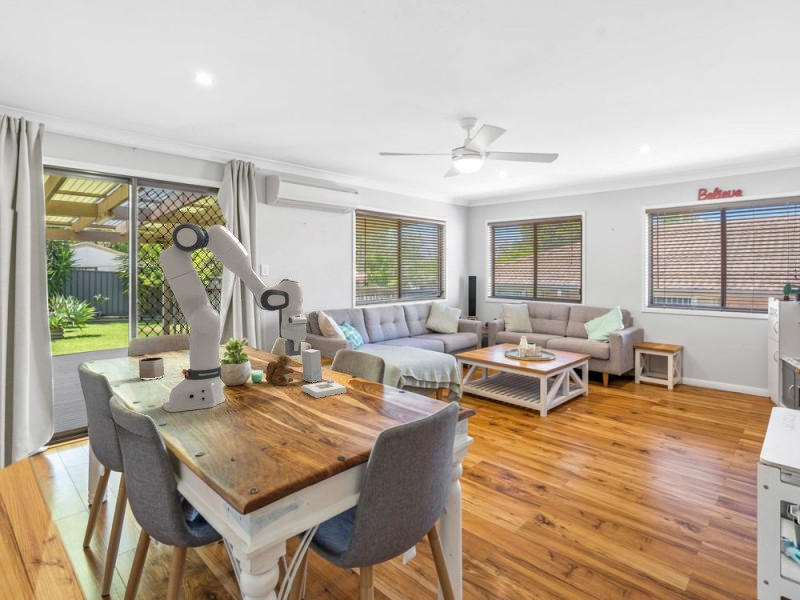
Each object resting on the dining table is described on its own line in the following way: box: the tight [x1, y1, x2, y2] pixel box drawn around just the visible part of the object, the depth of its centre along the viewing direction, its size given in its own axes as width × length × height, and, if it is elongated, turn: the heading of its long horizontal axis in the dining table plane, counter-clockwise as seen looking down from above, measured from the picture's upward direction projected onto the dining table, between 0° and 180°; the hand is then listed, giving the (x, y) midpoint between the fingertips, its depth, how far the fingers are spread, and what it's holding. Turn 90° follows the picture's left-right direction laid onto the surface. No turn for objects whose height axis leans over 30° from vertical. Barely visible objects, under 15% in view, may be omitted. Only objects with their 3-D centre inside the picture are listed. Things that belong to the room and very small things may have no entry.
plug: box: [284, 340, 302, 357], centre depth 191 cm, size 5×5×8 cm
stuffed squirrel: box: [264, 354, 295, 386], centre depth 210 cm, size 10×14×13 cm
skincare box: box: [301, 348, 323, 384], centre depth 213 cm, size 8×6×15 cm
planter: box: [138, 356, 165, 379], centre depth 223 cm, size 11×11×10 cm
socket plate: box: [302, 379, 347, 399], centre depth 193 cm, size 14×14×3 cm
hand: (293, 349), depth 191 cm, fingers closed on plug, 5 cm apart
